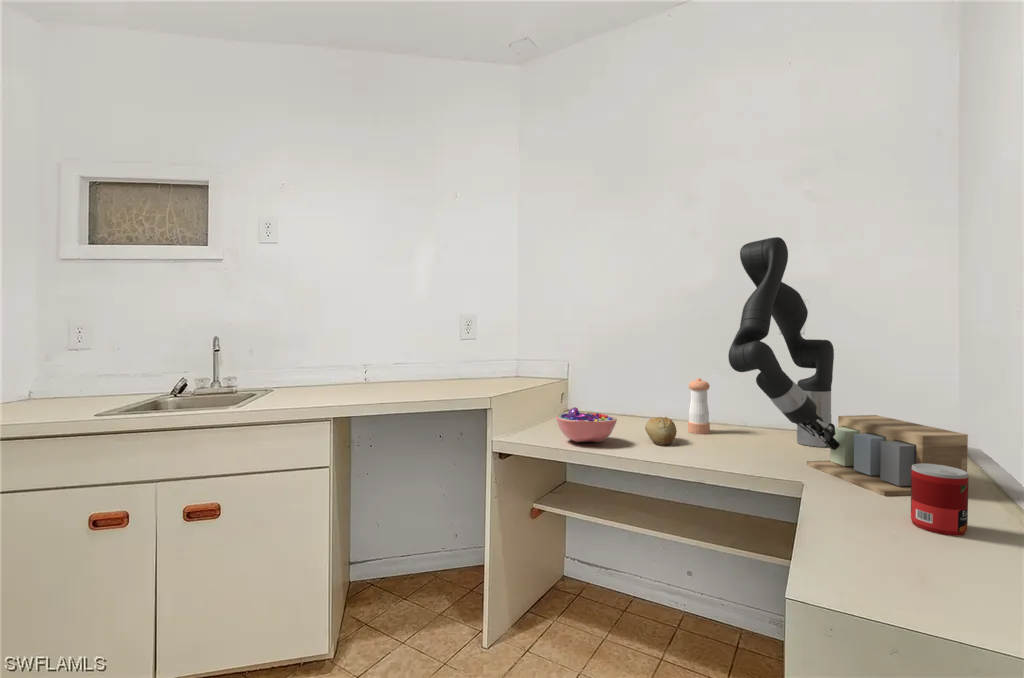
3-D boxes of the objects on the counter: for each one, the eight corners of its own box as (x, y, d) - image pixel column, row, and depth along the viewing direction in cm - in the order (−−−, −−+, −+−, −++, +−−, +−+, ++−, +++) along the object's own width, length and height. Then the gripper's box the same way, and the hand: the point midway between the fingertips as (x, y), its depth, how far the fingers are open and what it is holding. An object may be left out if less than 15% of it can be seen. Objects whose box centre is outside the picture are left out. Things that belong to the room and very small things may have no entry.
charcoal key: (880, 479, 116) (880, 441, 116) (919, 477, 117) (919, 440, 117) (899, 486, 111) (899, 446, 111) (939, 484, 112) (940, 445, 112)
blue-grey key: (853, 469, 124) (854, 433, 124) (890, 468, 125) (890, 433, 125) (870, 475, 119) (870, 438, 119) (908, 474, 120) (908, 437, 120)
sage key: (830, 461, 132) (830, 427, 132) (865, 459, 133) (865, 426, 133) (844, 466, 127) (845, 431, 127) (880, 465, 128) (881, 430, 128)
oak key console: (806, 464, 133) (807, 416, 133) (875, 462, 135) (875, 415, 135) (884, 495, 109) (885, 436, 108) (966, 492, 111) (967, 434, 110)
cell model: (612, 450, 150) (612, 413, 150) (549, 445, 157) (549, 410, 157) (620, 438, 166) (620, 405, 165) (562, 434, 173) (562, 402, 172)
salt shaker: (713, 434, 172) (713, 379, 172) (692, 434, 172) (692, 379, 172) (705, 429, 179) (705, 377, 179) (685, 429, 179) (685, 377, 179)
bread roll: (670, 436, 169) (670, 413, 169) (681, 447, 154) (681, 421, 154) (641, 436, 170) (641, 413, 170) (650, 446, 155) (650, 421, 155)
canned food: (972, 540, 86) (973, 477, 86) (913, 530, 90) (914, 470, 90) (961, 525, 93) (962, 467, 92) (907, 516, 97) (908, 461, 97)
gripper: (819, 394, 122) (865, 442, 123) (785, 387, 135) (826, 431, 136) (799, 416, 121) (845, 464, 123) (766, 407, 134) (808, 451, 136)
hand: (835, 446), depth 129 cm, fingers closed
